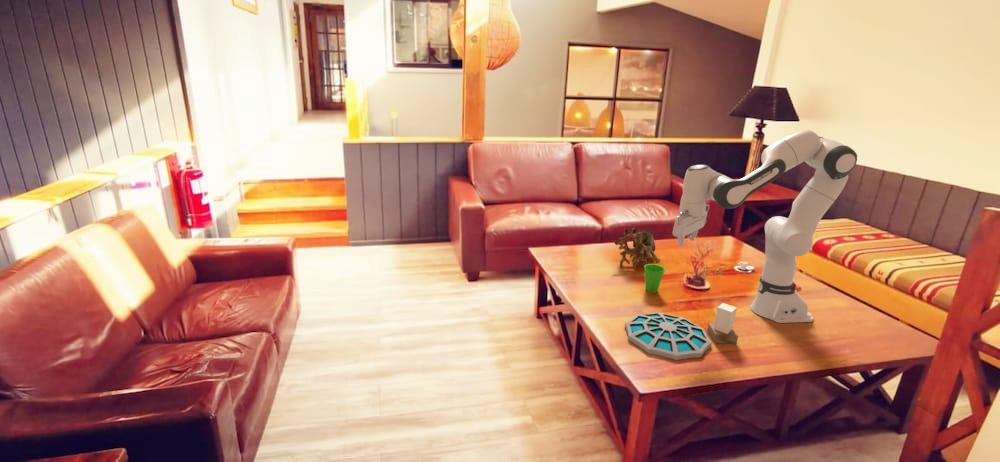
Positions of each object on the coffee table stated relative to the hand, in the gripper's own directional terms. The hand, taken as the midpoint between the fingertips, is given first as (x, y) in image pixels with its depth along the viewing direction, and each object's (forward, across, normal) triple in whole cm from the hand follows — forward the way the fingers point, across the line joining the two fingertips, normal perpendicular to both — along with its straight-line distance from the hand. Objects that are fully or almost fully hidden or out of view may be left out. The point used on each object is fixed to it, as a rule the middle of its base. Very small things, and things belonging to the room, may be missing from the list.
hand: (686, 242), depth 185 cm
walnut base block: (+31, -4, -20) cm, 37 cm away
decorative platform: (+32, -18, -6) cm, 37 cm away
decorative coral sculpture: (+31, +38, +42) cm, 64 cm away
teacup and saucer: (+32, +69, -4) cm, 76 cm away
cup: (+31, +14, +18) cm, 39 cm away
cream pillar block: (+28, -4, -20) cm, 34 cm away
